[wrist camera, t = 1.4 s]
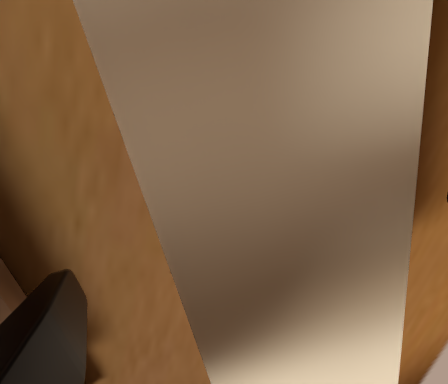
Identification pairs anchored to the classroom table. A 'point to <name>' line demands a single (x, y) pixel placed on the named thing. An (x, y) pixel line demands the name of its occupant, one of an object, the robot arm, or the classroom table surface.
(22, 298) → the airplane cradle
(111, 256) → the classroom table surface
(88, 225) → the classroom table surface
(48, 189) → the classroom table surface
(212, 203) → the white block
